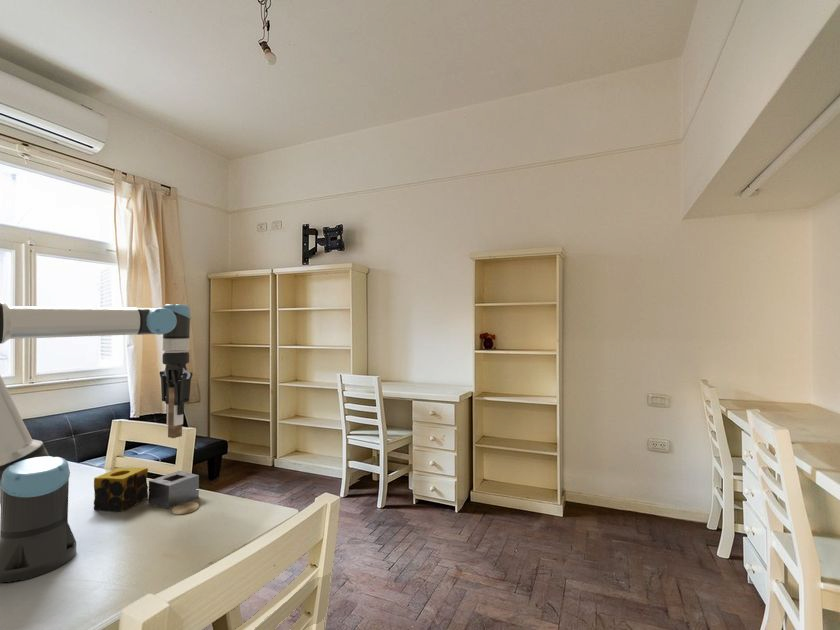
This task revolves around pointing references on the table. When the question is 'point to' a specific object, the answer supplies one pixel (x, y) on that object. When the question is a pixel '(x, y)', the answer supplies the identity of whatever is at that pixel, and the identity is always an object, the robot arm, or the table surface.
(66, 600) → the table surface
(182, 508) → the coaster
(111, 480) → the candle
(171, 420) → the dowel
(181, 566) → the table surface
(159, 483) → the box
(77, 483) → the table surface
